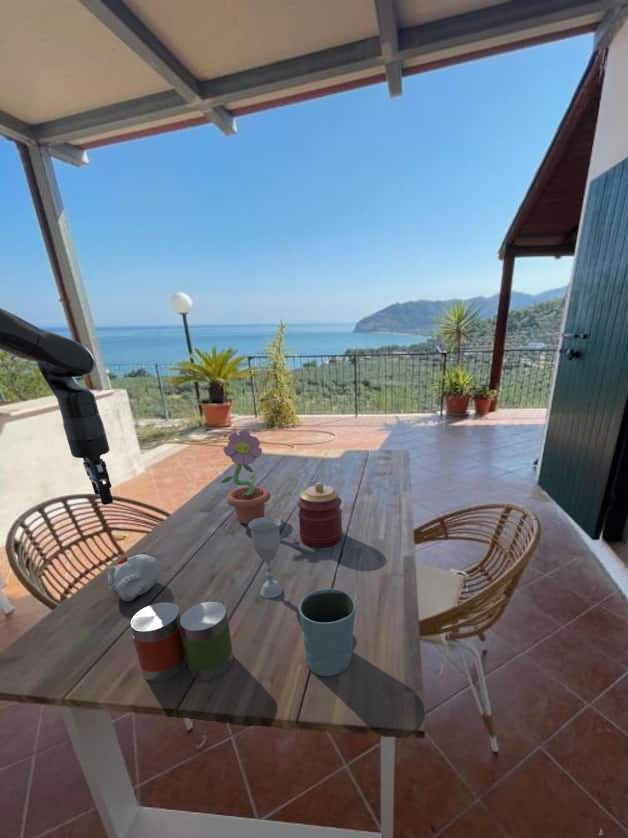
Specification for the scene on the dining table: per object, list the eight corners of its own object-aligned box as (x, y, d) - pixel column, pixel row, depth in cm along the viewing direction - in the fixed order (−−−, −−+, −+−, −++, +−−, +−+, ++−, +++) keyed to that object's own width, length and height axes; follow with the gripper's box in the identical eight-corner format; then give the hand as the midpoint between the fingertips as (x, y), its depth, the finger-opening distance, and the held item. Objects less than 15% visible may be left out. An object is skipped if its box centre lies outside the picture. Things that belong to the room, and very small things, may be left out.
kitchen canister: (312, 525, 126) (309, 473, 120) (349, 531, 122) (348, 478, 116) (291, 543, 115) (287, 487, 109) (331, 551, 110) (329, 493, 105)
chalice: (249, 596, 91) (241, 527, 85) (266, 580, 97) (259, 515, 91) (276, 603, 88) (269, 532, 82) (292, 586, 94) (286, 519, 88)
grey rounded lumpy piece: (128, 611, 85) (99, 594, 94) (176, 586, 94) (145, 573, 103) (116, 575, 83) (88, 561, 91) (167, 552, 91) (136, 541, 100)
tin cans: (133, 682, 68) (120, 632, 64) (154, 649, 75) (143, 602, 72) (226, 680, 68) (218, 630, 65) (238, 648, 76) (231, 600, 72)
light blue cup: (292, 668, 71) (287, 614, 67) (319, 632, 80) (316, 582, 76) (341, 687, 67) (340, 630, 63) (364, 647, 76) (364, 595, 72)
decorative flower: (226, 532, 122) (213, 439, 112) (225, 514, 134) (214, 429, 124) (274, 525, 126) (266, 435, 116) (269, 509, 139) (262, 426, 128)
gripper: (62, 432, 92) (80, 494, 98) (71, 443, 82) (91, 512, 88) (98, 426, 97) (114, 486, 103) (111, 436, 87) (128, 502, 93)
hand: (103, 498), depth 96 cm, fingers open, 8 cm apart
